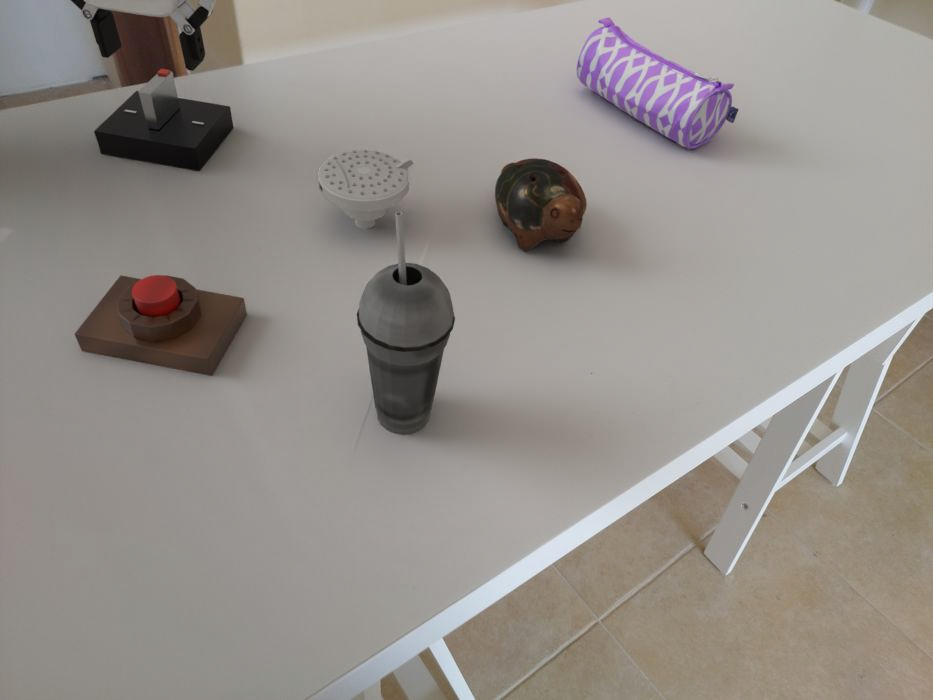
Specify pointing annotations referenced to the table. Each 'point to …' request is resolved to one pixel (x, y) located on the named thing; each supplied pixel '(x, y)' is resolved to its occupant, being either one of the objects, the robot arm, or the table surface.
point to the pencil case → (654, 87)
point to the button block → (164, 328)
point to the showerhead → (364, 183)
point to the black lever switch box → (166, 133)
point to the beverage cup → (405, 339)
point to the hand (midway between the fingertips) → (153, 58)
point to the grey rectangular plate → (159, 99)
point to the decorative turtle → (539, 201)
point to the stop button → (156, 296)
